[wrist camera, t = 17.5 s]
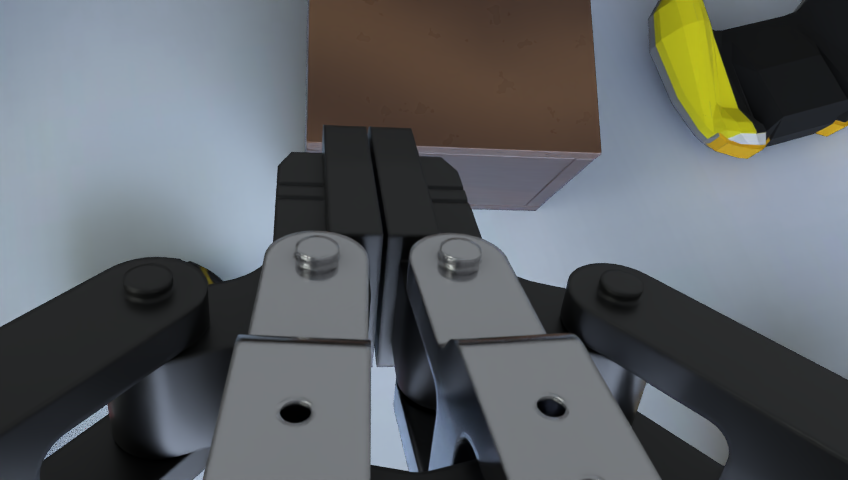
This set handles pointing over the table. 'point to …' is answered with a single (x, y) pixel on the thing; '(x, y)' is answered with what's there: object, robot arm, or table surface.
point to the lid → (458, 74)
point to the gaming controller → (754, 73)
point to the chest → (503, 175)
